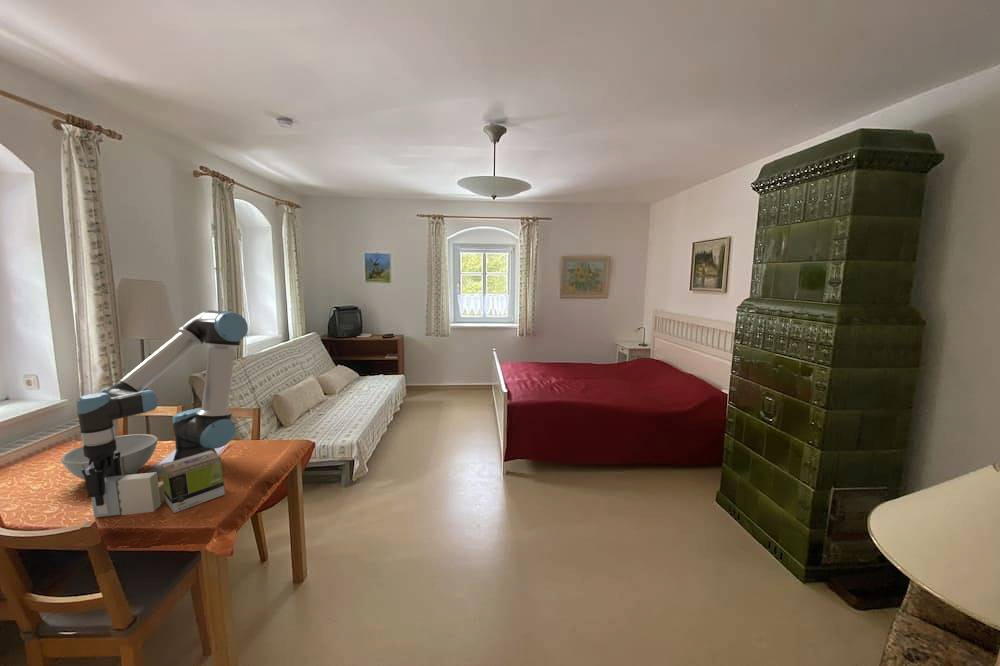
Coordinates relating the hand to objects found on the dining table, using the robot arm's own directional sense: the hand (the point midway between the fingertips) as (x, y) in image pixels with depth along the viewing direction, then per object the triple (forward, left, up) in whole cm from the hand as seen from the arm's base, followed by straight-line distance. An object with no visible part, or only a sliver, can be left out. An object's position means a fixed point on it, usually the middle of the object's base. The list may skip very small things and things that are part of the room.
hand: (108, 509), depth 131 cm
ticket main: (-2, +9, -2) cm, 9 cm away
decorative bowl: (-29, -15, -2) cm, 33 cm away
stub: (0, +1, -2) cm, 2 cm away
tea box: (-3, +23, -2) cm, 24 cm away
